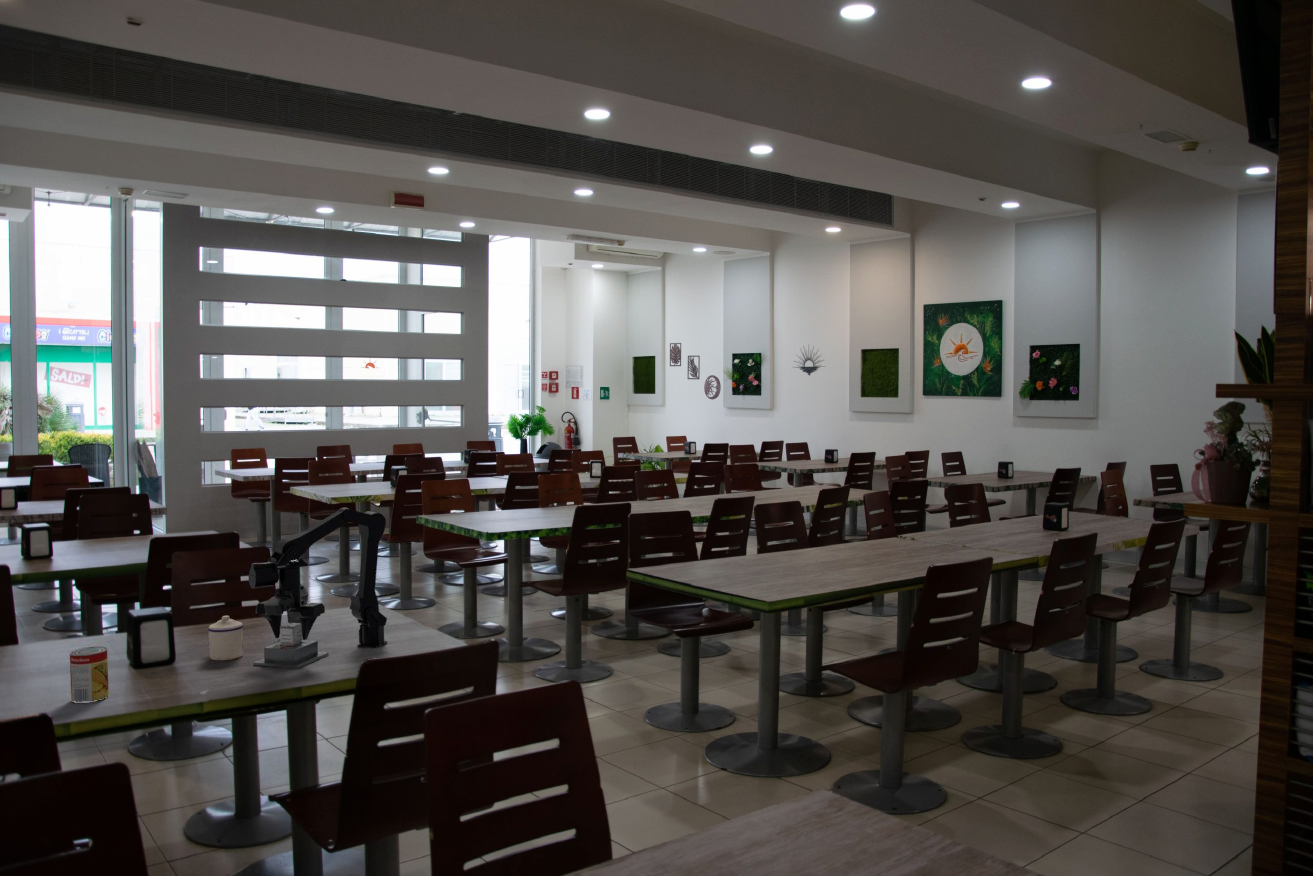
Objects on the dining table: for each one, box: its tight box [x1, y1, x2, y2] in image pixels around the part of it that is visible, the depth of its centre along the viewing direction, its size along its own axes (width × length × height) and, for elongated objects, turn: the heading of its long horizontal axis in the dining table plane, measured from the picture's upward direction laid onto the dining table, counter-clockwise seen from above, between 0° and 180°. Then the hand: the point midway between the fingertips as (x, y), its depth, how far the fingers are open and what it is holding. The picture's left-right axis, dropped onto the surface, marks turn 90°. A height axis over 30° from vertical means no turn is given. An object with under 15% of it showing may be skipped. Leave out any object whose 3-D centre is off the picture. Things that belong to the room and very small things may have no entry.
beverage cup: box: [286, 583, 310, 627], centre depth 295 cm, size 7×7×20 cm
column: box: [279, 622, 303, 647], centre depth 263 cm, size 4×4×9 cm
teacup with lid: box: [207, 615, 244, 661], centre depth 268 cm, size 12×9×12 cm
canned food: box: [69, 645, 110, 702], centre depth 230 cm, size 8×8×12 cm
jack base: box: [252, 639, 329, 670], centre depth 263 cm, size 14×14×5 cm
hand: (291, 638), depth 263 cm, fingers open, 9 cm apart
